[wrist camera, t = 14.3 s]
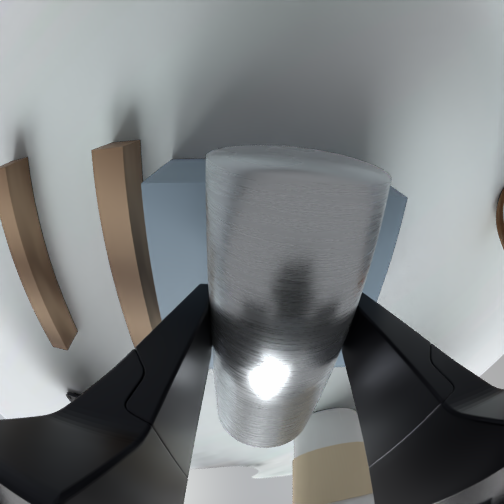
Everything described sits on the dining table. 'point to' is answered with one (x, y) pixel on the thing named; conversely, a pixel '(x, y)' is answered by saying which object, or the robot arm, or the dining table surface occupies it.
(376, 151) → the dining table surface
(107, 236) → the guide channel
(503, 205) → the tin
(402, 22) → the dining table surface
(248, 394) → the axle
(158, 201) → the v block
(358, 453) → the coffee cup
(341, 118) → the dining table surface
